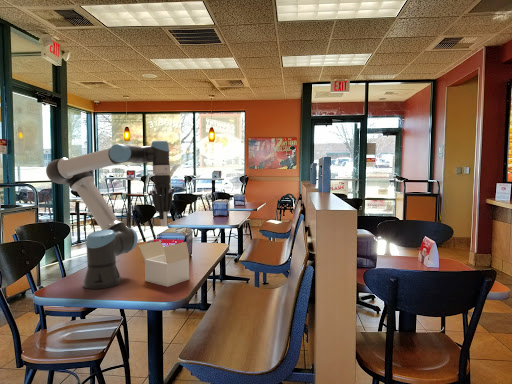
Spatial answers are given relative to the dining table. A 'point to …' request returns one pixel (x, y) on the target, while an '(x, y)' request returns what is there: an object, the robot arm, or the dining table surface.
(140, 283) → the dining table surface
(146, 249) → the far flap
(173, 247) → the near flap
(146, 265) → the carton
